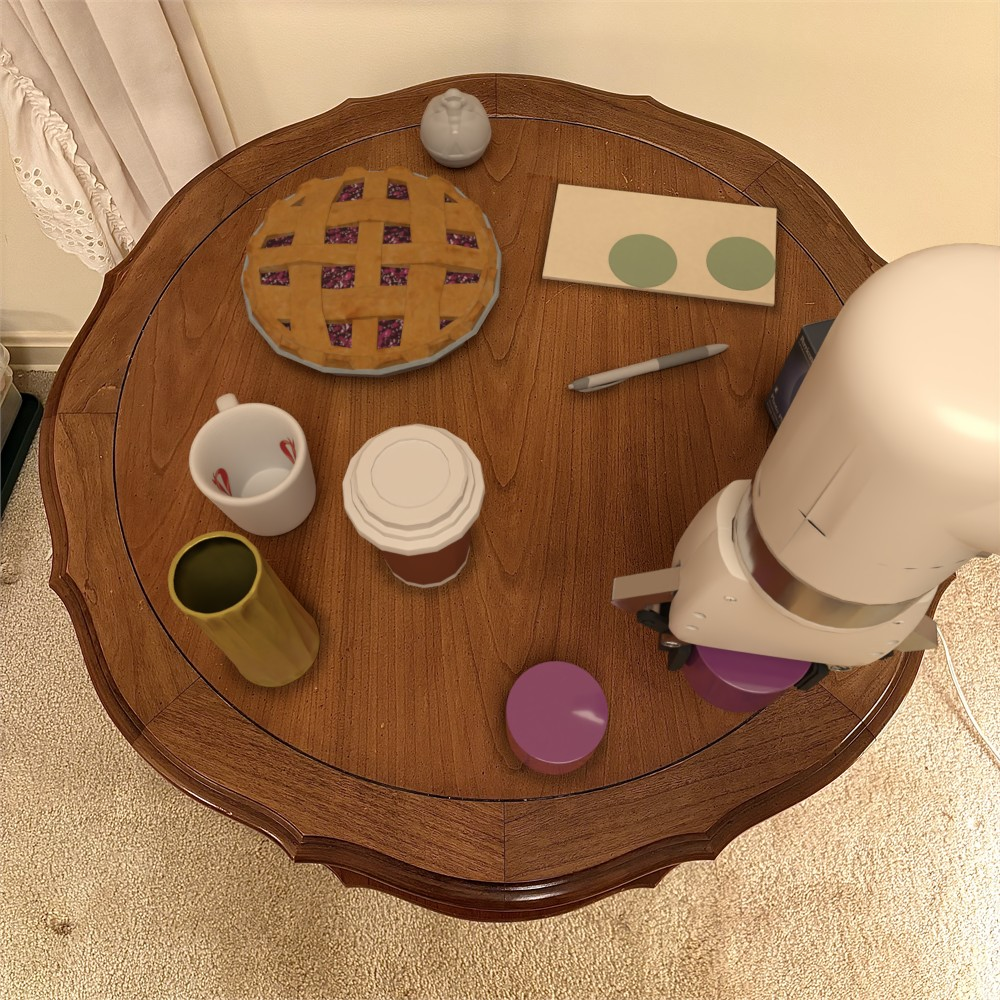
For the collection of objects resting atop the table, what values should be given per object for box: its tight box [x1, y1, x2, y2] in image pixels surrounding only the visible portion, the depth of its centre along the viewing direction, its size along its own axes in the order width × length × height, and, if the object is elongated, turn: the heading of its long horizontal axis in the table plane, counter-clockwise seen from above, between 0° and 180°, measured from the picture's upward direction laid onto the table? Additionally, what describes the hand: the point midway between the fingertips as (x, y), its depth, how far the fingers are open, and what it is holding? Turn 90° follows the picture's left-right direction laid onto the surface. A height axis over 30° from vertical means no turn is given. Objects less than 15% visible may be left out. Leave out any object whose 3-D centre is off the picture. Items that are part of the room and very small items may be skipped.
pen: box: [567, 343, 730, 393], centre depth 69 cm, size 1×14×1 cm, turn 106°
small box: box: [763, 316, 837, 432], centre depth 62 cm, size 11×6×10 cm, turn 14°
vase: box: [167, 530, 321, 688], centre depth 53 cm, size 6×6×14 cm
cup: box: [188, 392, 317, 537], centre depth 61 cm, size 11×8×8 cm
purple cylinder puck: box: [681, 644, 812, 714], centre depth 47 cm, size 6×6×5 cm
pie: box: [240, 165, 503, 379], centre depth 71 cm, size 22×22×5 cm
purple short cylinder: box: [505, 660, 609, 776], centre depth 55 cm, size 6×6×5 cm
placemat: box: [541, 183, 778, 308], centre depth 75 cm, size 20×11×1 cm, turn 81°
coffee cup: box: [341, 423, 486, 589], centre depth 57 cm, size 9×9×12 cm
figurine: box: [419, 87, 492, 169], centre depth 77 cm, size 6×7×8 cm
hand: (737, 654), depth 48 cm, fingers closed on purple cylinder puck, 6 cm apart
